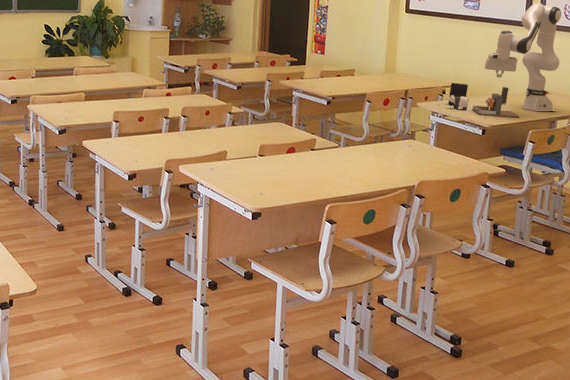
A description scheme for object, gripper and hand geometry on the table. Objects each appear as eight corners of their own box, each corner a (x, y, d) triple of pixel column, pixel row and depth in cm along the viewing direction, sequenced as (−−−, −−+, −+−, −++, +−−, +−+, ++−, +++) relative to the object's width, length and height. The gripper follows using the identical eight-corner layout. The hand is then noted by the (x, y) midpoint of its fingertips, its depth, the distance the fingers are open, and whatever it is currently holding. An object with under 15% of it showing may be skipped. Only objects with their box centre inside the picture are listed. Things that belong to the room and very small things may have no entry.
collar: (489, 105, 545) (491, 97, 543) (492, 107, 539) (493, 99, 538) (487, 105, 545) (488, 97, 543) (489, 107, 539) (491, 99, 537)
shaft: (504, 104, 544) (507, 87, 540) (505, 105, 541) (508, 88, 537) (485, 102, 542) (487, 85, 539) (486, 103, 540) (489, 86, 536)
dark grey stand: (511, 113, 552) (514, 94, 549) (519, 117, 537) (522, 98, 533) (472, 110, 550) (474, 91, 546) (479, 115, 535) (482, 95, 531)
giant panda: (466, 109, 552) (468, 95, 549) (468, 110, 547) (470, 96, 544) (444, 107, 552) (447, 93, 549) (446, 109, 546) (448, 94, 543)
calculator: (464, 105, 564) (467, 84, 560) (464, 106, 560) (468, 85, 556) (448, 104, 565) (451, 82, 561) (448, 105, 561) (451, 83, 557)
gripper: (516, 56, 537) (512, 77, 540) (485, 54, 535) (482, 75, 538) (519, 58, 530) (515, 79, 534) (488, 55, 529) (485, 76, 532)
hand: (498, 77), depth 536 cm, fingers closed
